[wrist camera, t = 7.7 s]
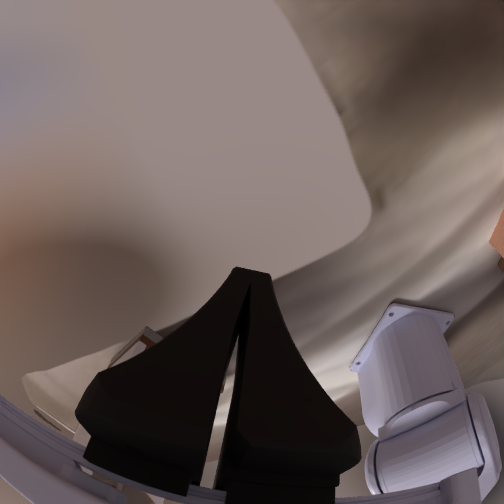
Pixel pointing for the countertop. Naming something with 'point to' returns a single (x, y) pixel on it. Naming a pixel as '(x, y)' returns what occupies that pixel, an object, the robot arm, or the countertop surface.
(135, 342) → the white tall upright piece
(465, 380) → the countertop surface
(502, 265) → the tan wooden box
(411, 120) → the countertop surface
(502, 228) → the terracotta brick
